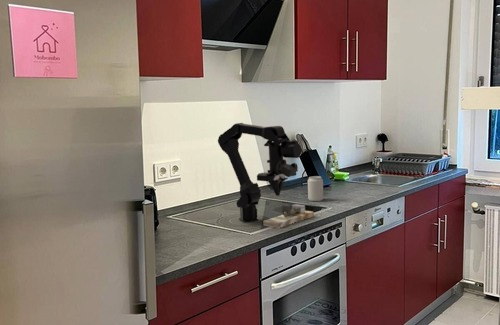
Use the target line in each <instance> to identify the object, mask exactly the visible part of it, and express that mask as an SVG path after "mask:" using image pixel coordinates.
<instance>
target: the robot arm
mask: <svg viewBox="0 0 500 325" xmlns="http://www.w3.org/2000/svg"><path fill="white" fill-rule="evenodd" d="M243 134H244V135H251V136H257V137H261V138H263V139H264V140H266V142H265V143H264V144H263V147H268V157H269V158H268V159H267V160H266V163H267V164H268V165H269V169H268V170H267V172H265V171H264V172H260V173H258V174H256V180H257V181H259V182H260V181H261V182H268V183H269V185H270V186H271V189H272V191H273V192H274V194H275V195H276V196H277V197H279V196H280V194H281V191H282V188H283V184H284V182H285V181H286V180H288V178H291V177H294V176H297V172H298V171H299V169H298V168H299V167H298V163H296V162H293V163H291V164H289V163H287V160H286V159H287V158H288V159H289V158H291V159H299V158H300V157H301V155H302V147H301V145H300V144H299V141H298V140H291V139H290V138H289V137H288V135H287V133H286V132H285V129H284V127H283V126H281V125H273V126H261V125H255V124H249V123H248V124H247V123H243V122H237V123H234V124H233V125H232V126H231V127H230V128H228V129H227V130H226V131H224V132H223V133H221V134H220V135H219V136H218V138H217V143H218V146H219V147H220V149H221V150H222V151H223V152H224V153H225V154H226V155H227V156H228V159H229V161H230V164H231V167H232V168H233V171H234V173H235V176H236V179H237V181H238V183H239V194H240V197H239V198H238V200H237V201H236V203H235V204H236V206H237V208H239V215H240V216H239V218H238V220H239V221H241V222H243V223H249V222H255V221H259V218H258V208H257V205H259V201H260V200H261V197H262V194H261V192H262V191H261V189H260V186H259V184H258V183H257V182H256V183H254V182H253V181H252V180H251V177H250V176H249V172H248V170H247V169H246V166H245V163H244V161H243V158H242V156H241V154H240V152H239V145H240V144H239V140H240V138H241V137H242V136H243ZM285 158H286V159H285Z"/></svg>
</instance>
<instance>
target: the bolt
mask: <svg viewBox="0 0 500 325" xmlns="http://www.w3.org/2000/svg"><path fill="white" fill-rule="evenodd" d="M281 206H282V207H281V209H282V215H284V217H287V216H290V215H294V214H297V213H299V208H297V209H294V210H292V208H291V204H282V205H281Z"/></svg>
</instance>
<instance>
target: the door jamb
mask: <svg viewBox="0 0 500 325" xmlns="http://www.w3.org/2000/svg"><path fill="white" fill-rule="evenodd" d="M314 215H315V213H314V211H311V210H305V213H304V214H299V213H297V214H294V215H290V216H287V217H284V215H283V214H281V215H278V216H275V217H272V218H269V219H265V220H263V226H264V227H270V228H274V227H276V228H275V229H281V228H283V226H284V227H287V226H289V224H290V225H292V223H293V224H295V223H294V222H296V223H299V222H300V221H301V220H302V221H304V219H305V220H308V219H310V218H313V217H315V216H314ZM307 218H308V219H307ZM298 221H299V222H298ZM286 225H287V226H286ZM280 227H281V228H280Z"/></svg>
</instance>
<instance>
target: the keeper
mask: <svg viewBox="0 0 500 325" xmlns="http://www.w3.org/2000/svg"><path fill="white" fill-rule="evenodd" d="M297 208H299V214H304V213H305V211H306V205H305V204H297V203H295V204H292V205H291V210H294V209H297Z"/></svg>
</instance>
